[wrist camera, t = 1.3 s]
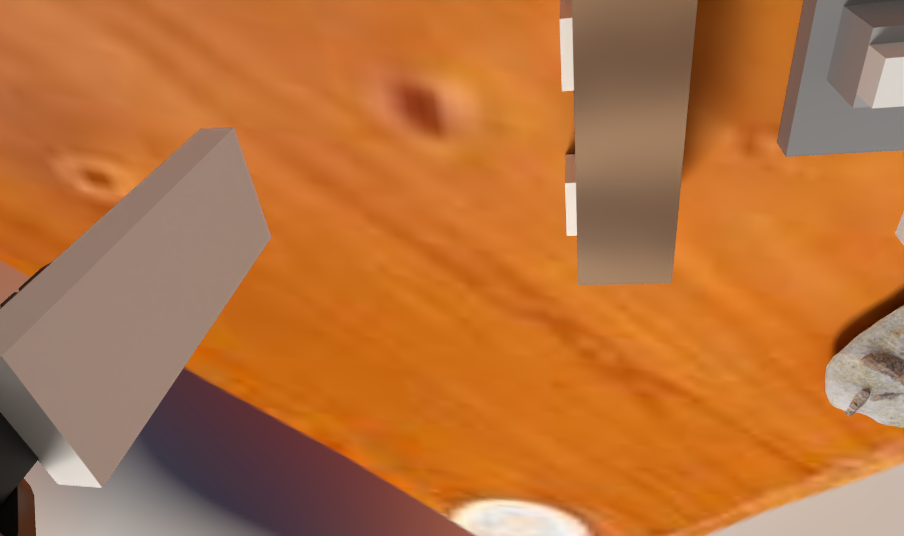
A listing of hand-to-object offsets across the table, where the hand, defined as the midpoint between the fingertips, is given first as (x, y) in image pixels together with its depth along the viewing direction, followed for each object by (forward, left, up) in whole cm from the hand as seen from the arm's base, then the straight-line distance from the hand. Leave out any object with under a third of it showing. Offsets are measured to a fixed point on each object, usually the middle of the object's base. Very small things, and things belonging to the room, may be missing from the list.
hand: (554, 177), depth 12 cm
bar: (+2, +2, -15) cm, 15 cm away
